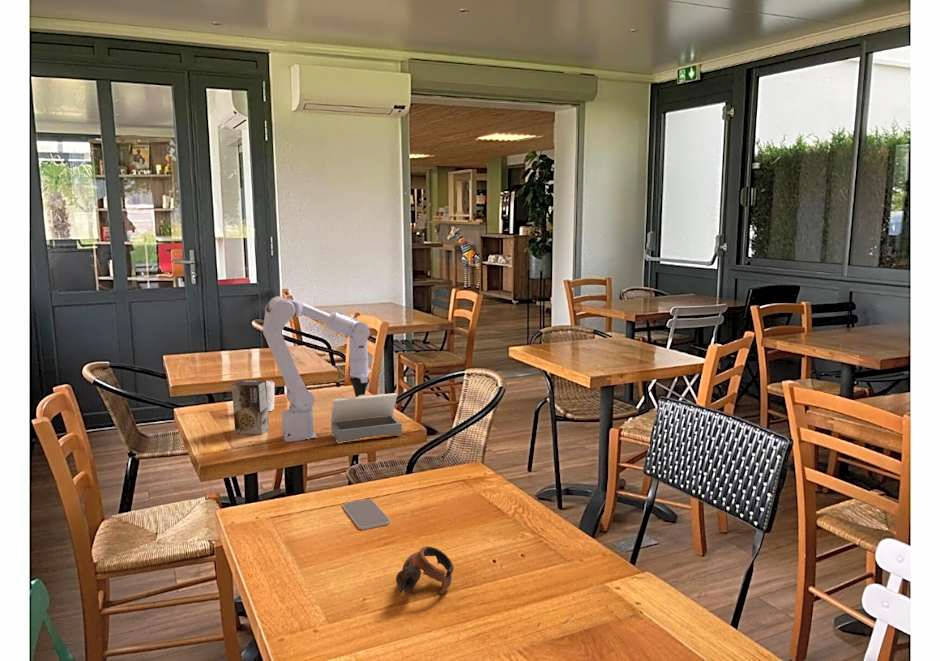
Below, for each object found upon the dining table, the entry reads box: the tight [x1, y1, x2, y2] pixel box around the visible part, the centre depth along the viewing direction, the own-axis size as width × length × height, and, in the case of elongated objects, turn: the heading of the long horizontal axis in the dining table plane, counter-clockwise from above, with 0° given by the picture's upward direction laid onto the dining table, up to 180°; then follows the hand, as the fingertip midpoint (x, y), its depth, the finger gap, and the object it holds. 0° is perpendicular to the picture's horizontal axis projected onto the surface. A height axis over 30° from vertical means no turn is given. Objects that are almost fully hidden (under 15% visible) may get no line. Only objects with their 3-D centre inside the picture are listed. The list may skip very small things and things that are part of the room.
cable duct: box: [330, 414, 403, 442], centre depth 221 cm, size 20×10×4 cm, turn 112°
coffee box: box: [231, 379, 270, 435], centre depth 224 cm, size 9×6×16 cm
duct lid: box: [330, 392, 398, 423], centre depth 222 cm, size 20×10×1 cm
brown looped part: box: [395, 545, 455, 595], centre depth 130 cm, size 12×10×8 cm
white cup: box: [266, 380, 275, 412], centre depth 248 cm, size 8×8×10 cm
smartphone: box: [342, 498, 391, 531], centre depth 163 cm, size 7×1×15 cm
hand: (359, 400), depth 227 cm, fingers closed
